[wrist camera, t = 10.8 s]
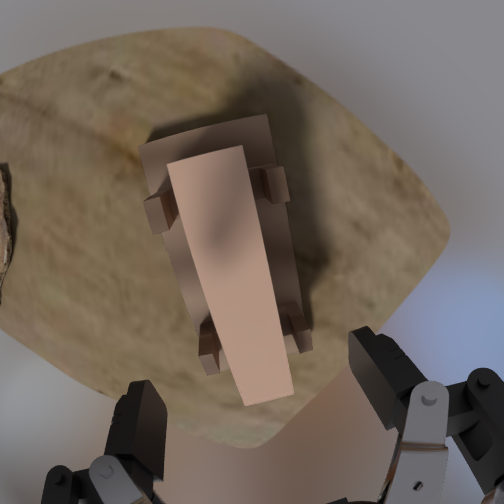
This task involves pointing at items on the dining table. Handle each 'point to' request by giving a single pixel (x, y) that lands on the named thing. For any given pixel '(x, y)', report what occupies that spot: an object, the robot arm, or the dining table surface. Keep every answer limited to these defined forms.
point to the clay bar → (233, 269)
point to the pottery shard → (4, 228)
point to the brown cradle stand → (269, 214)
